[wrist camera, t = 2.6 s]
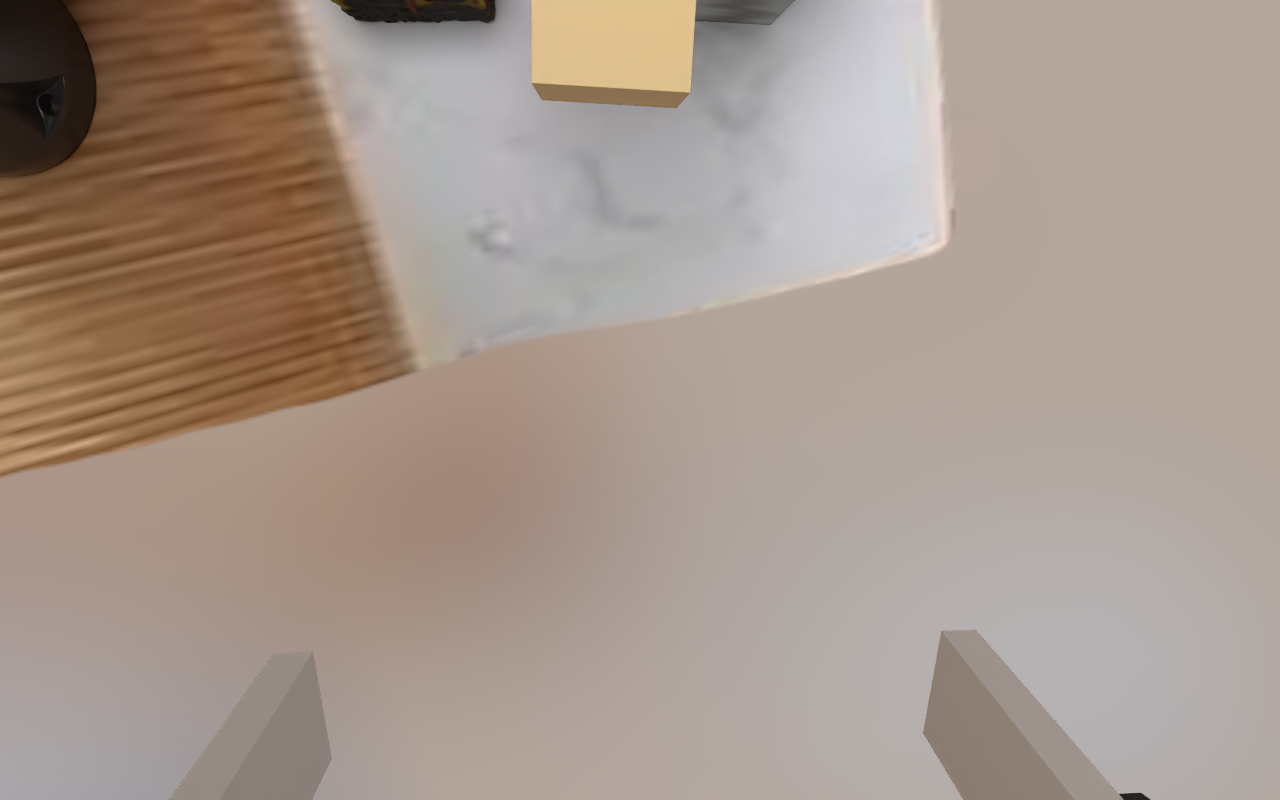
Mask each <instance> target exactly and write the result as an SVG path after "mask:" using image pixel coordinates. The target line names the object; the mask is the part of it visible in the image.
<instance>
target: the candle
mask: <svg viewBox="0 0 1280 800" xmlns="http://www.w3.org/2000/svg"><path fill="white" fill-rule="evenodd" d="M331 1H332V2H334V3H336V4H338V5H339V6H341V9H342V11H344V12H345V13H347V14H348V15H350V16H352V17H354V18H355V20H363V21H372V22H376V21H380V20H382V21H384V22H387V23H391V22H397V21H399V20H401V21H403V22H407V21H412V22H416V21H423V22H431V21H435V22H437V23H439V22H440V21H442V20H443V21H450V20H458V21H471V20H480V21H483V22H486V23H488V22H489V21H491V20H492V19H494V16H495V3H494V0H331Z"/></svg>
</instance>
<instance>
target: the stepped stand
mask: <svg viewBox="0 0 1280 800" xmlns="http://www.w3.org/2000/svg"><path fill="white" fill-rule="evenodd" d="M794 1H795V0H696V10H695V20H698V21H714V22H731V23H747V24H764V25H771V24H772V23H773V22H774V21H775V20H776V19H777V18H778V17H779V16H780V15H781V14H782V13H783V12H784V11H785V10H786V9H787V8H788V7H789V6H790V5H791V4H792V3H793V2H794Z"/></svg>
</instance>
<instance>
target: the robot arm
mask: <svg viewBox="0 0 1280 800" xmlns="http://www.w3.org/2000/svg"><path fill="white" fill-rule="evenodd" d="M94 98H95V86H94V75H93V69H92V65H91V60H90V57H89V53H88V50H87V48H86V45H85V42H84V40H83V38H82V35H81V33H80V31H79V29H78V27H77V25H76V24H75V22H74V20H73V18H72V17H71V15H70V14H69V12H68V11H67V9H66V8H65V6H64V5H63V4H62V2H61V1H60V0H0V176H23V175H29V174H34V173H38V172H41V171H44V170H46V169H49V168H51V167H53V166H55V165H57V164H58V163H60V162H61V161H63V160H64V159H65V158H66V157H68V156H69V155H70V154H71V153H72V152H73V151H74V150H75V148H76V147H77V146H78V145H79V143H80V142H81V140H82V139H83V137H84V135H85V133H86V131H87V129H88V127H89V124H90V121H91V117H92V113H93V108H94ZM923 733H924V735H925V737H926V739H927V740H928V742H929V743H930V745H931V747H932V748H933V750H934V752H935V753H936V755H937V757H938V758H939V760H940V762H941V763H942V765H943V767H944V768H945V770H946V772H947V773H948V775H949V777H950V778H951V780H952V782H953V783H954V785H955V787H956V788H957V790H958V792H959V793H960V795H961V797H962V798H963V800H1150V799H1149V798H1147V797H1146V796H1144V795H1143V794H1142V793H1128V794H1118V793H1117V792H1116V790H1114V788H1113V787H1112V786H1111V785H1110V784H1109V782H1108V781H1107V780H1106V779H1105V778H1104V777H1103V776H1102V774H1101V773H1100V772H1099V771H1098V770H1097V769H1096V767H1095V766H1094V765H1093V764H1092V763H1091V762H1090V760H1089V759H1088V758H1087V757H1086V756H1085V755H1084V754H1083V752H1082V751H1081V750H1080V749H1079V748H1078V747H1077V746H1076V744H1075V743H1074V742H1073V741H1072V740H1071V739H1070V737H1069V736H1068V735H1067V734H1066V733H1065V732H1064V731H1063V729H1062V728H1061V727H1060V726H1059V725H1058V724H1057V723H1056V721H1055V720H1054V719H1053V718H1052V717H1051V716H1050V715H1049V713H1048V712H1047V711H1046V710H1045V709H1044V708H1043V706H1041V704H1040V703H1039V702H1038V701H1037V700H1036V698H1035V697H1034V696H1033V695H1032V694H1031V693H1030V691H1029V690H1028V689H1027V688H1026V687H1025V686H1024V685H1023V683H1022V682H1021V681H1020V680H1019V679H1018V678H1017V677H1016V675H1015V674H1014V673H1013V672H1012V671H1011V670H1010V669H1009V667H1008V666H1007V665H1006V664H1005V663H1004V662H1003V660H1002V659H1001V658H1000V657H999V656H998V655H997V654H996V653H995V651H994V650H993V649H992V648H991V647H990V645H989V644H988V643H987V642H986V641H985V640H984V639H983V637H982V636H981V635H980V634H979V633H978V632H977V631H976V630H957V631H941V637H940V642H939V648H938V653H937V659H936V664H935V670H934V675H933V681H932V686H931V692H930V697H929V703H928V709H927V714H926V720H925V725H924V731H923ZM330 761H331V752H330V747H329V741H328V735H327V729H326V723H325V718H324V712H323V706H322V701H321V695H320V690H319V685H318V678H317V673H316V667H315V661H314V656H313V652H292V653H274V654H273V655H272V656H271V658H270V659H269V660H268V662H267V664H266V665H265V666H264V667H263V669H262V670H261V672H260V673H259V674H258V676H257V677H256V679H255V680H254V681H253V683H252V684H251V686H250V687H249V689H248V690H247V691H246V693H245V694H244V695H243V697H242V698H241V700H240V701H239V702H238V704H237V705H236V707H235V708H234V709H233V711H232V712H231V714H230V715H229V717H228V718H227V719H226V721H225V722H224V723H223V725H222V726H221V728H220V729H219V730H218V732H217V733H216V735H215V736H214V737H213V739H212V740H211V742H210V743H209V744H208V746H207V747H206V749H205V750H204V752H203V753H202V754H201V756H200V757H199V759H198V760H197V761H196V763H195V764H194V766H193V767H192V768H191V770H190V771H189V772H188V774H187V775H186V777H185V778H184V779H183V781H182V782H181V784H180V785H179V786H178V788H177V789H176V791H175V792H174V793H173V795H172V796H171V798H170V799H169V800H312V799H313V796H314V794H315V792H316V790H317V788H318V786H319V784H320V782H321V780H322V778H323V775H324V773H325V771H326V769H327V767H328V765H329V763H330Z"/></svg>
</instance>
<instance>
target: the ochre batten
mask: <svg viewBox="0 0 1280 800" xmlns="http://www.w3.org/2000/svg"><path fill="white" fill-rule="evenodd" d="M695 10H696V0H531V13H532V84H533V86H534V87H535V89H536V91H537V92H538V94H539V96H540V98H541V99H542V100H551V101H568V102H584V103H601V104H618V105H635V106H652V107H668V108H677V107H678V106H679V105H680V103H681V102H682V101H683V100H684V99H685V98H686V97H687V96H688V94H689V93H690V88H691V73H692V57H693V42H694V26H695Z"/></svg>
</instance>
